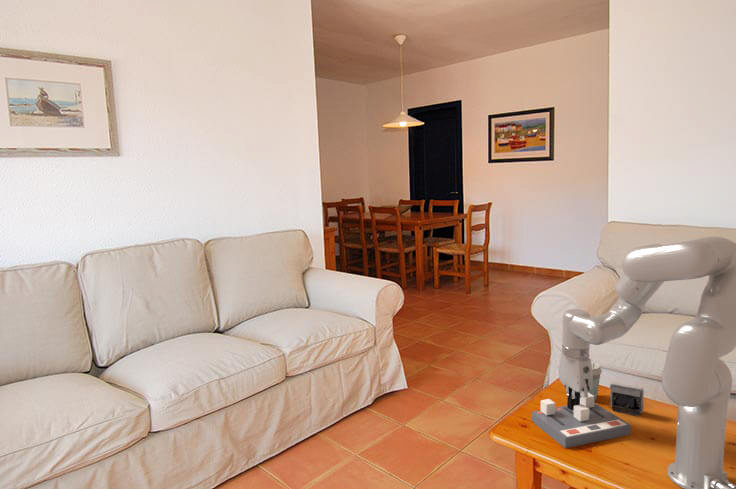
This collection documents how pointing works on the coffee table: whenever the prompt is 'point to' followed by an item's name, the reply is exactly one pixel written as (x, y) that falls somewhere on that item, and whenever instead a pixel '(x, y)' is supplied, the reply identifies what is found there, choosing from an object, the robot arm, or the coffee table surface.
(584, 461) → the coffee table surface
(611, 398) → the electrical switch
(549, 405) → the left switch
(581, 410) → the middle switch
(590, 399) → the right switch
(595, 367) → the coffee cup
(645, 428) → the coffee table surface
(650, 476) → the coffee table surface
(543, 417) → the switch unit
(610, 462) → the coffee table surface
